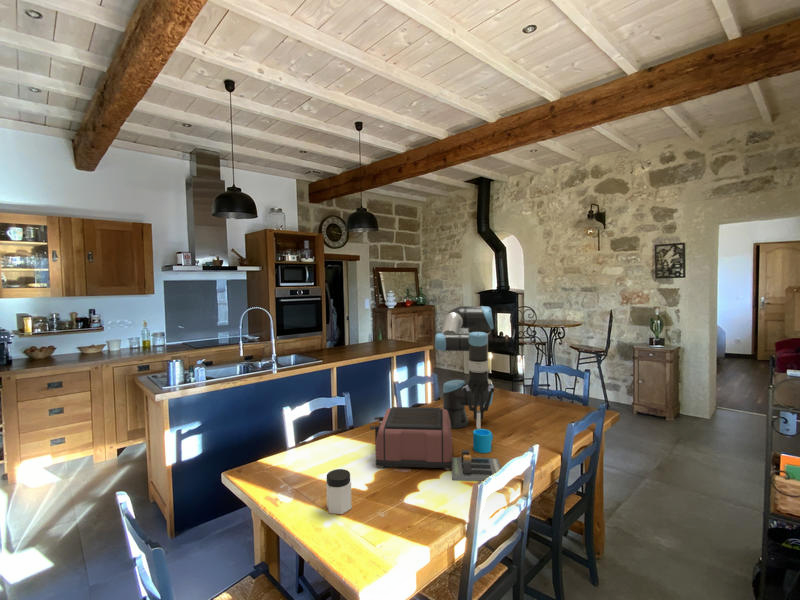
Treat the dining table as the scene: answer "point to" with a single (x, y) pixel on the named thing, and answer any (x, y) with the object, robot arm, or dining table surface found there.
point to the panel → (475, 468)
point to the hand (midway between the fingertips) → (478, 427)
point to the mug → (482, 440)
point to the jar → (338, 491)
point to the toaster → (414, 438)
